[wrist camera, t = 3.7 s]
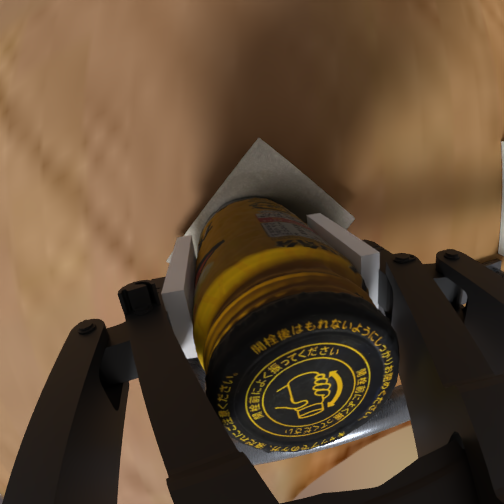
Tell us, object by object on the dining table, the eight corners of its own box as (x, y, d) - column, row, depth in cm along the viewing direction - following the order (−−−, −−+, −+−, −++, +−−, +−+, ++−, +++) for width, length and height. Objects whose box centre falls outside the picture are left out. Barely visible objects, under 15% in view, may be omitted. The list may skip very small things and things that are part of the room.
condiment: (166, 259, 18) (123, 423, 7) (258, 137, 17) (360, 126, 5) (265, 322, 20) (322, 486, 9) (352, 217, 19) (502, 309, 8)
